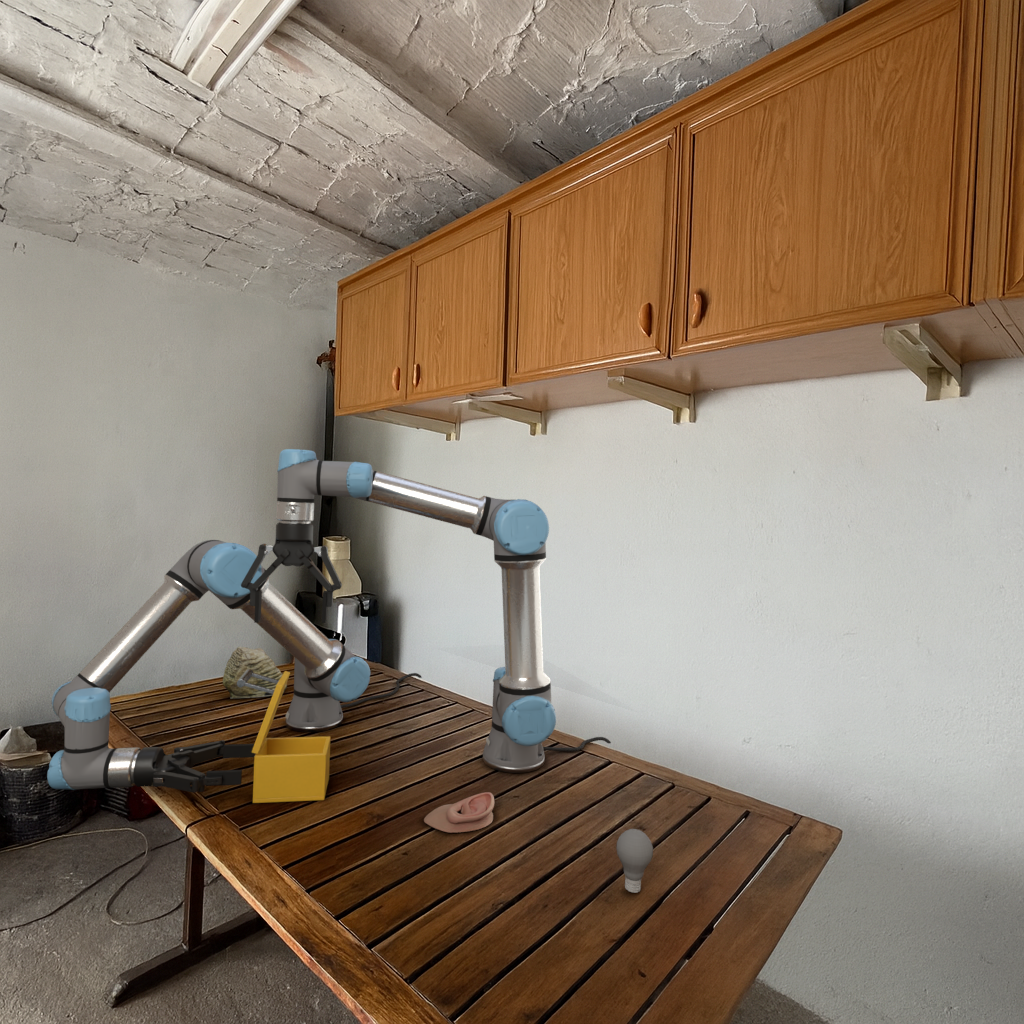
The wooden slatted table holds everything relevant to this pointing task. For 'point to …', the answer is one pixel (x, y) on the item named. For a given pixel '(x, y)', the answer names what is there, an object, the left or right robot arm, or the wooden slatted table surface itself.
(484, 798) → the anatomical model
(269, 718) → the lid
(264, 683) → the fossil
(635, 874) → the light bulb
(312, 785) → the chest
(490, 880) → the wooden slatted table surface
